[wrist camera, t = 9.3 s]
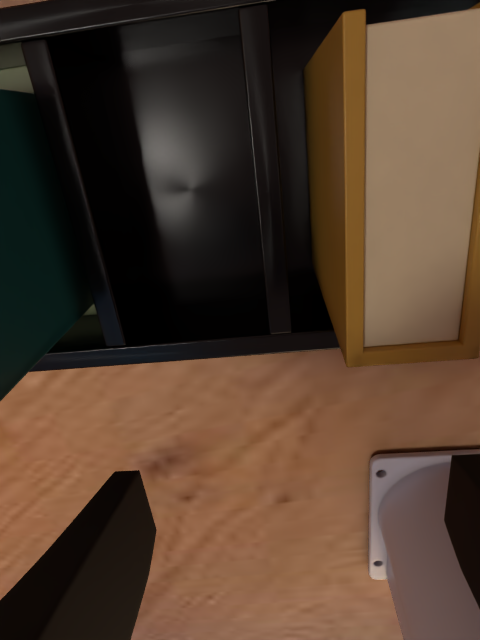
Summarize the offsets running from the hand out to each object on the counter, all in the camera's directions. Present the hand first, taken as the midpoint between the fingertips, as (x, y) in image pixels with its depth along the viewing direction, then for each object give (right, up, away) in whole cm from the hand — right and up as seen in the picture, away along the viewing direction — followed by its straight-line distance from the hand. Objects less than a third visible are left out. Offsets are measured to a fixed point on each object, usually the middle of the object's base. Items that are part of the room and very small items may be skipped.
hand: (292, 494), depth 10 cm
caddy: (-3, +9, +7) cm, 12 cm away
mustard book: (+3, +10, +6) cm, 12 cm away
